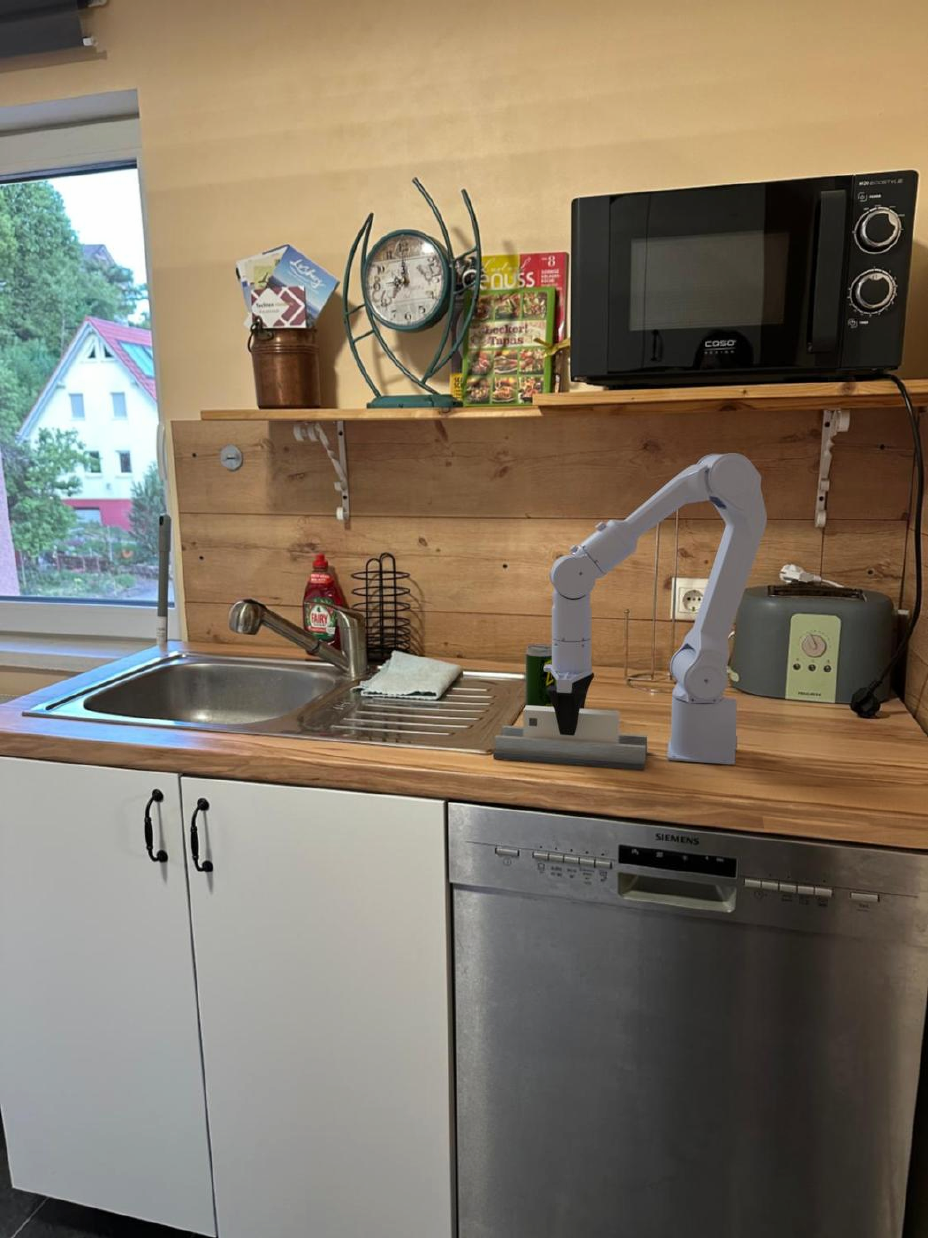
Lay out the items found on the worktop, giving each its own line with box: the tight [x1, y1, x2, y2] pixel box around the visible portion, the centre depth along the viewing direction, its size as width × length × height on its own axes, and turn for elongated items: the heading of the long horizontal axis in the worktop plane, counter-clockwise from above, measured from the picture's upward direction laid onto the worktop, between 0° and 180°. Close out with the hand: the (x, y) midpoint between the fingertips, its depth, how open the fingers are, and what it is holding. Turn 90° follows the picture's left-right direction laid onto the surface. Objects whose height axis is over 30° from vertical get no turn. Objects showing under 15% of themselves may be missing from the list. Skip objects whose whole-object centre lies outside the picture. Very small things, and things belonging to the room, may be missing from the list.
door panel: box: [522, 704, 621, 744], centre depth 124 cm, size 14×2×6 cm, turn 75°
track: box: [492, 724, 648, 771], centre depth 125 cm, size 22×8×3 cm, turn 75°
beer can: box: [525, 643, 557, 707], centre depth 144 cm, size 5×5×12 cm
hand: (570, 727), depth 124 cm, fingers open, 6 cm apart
